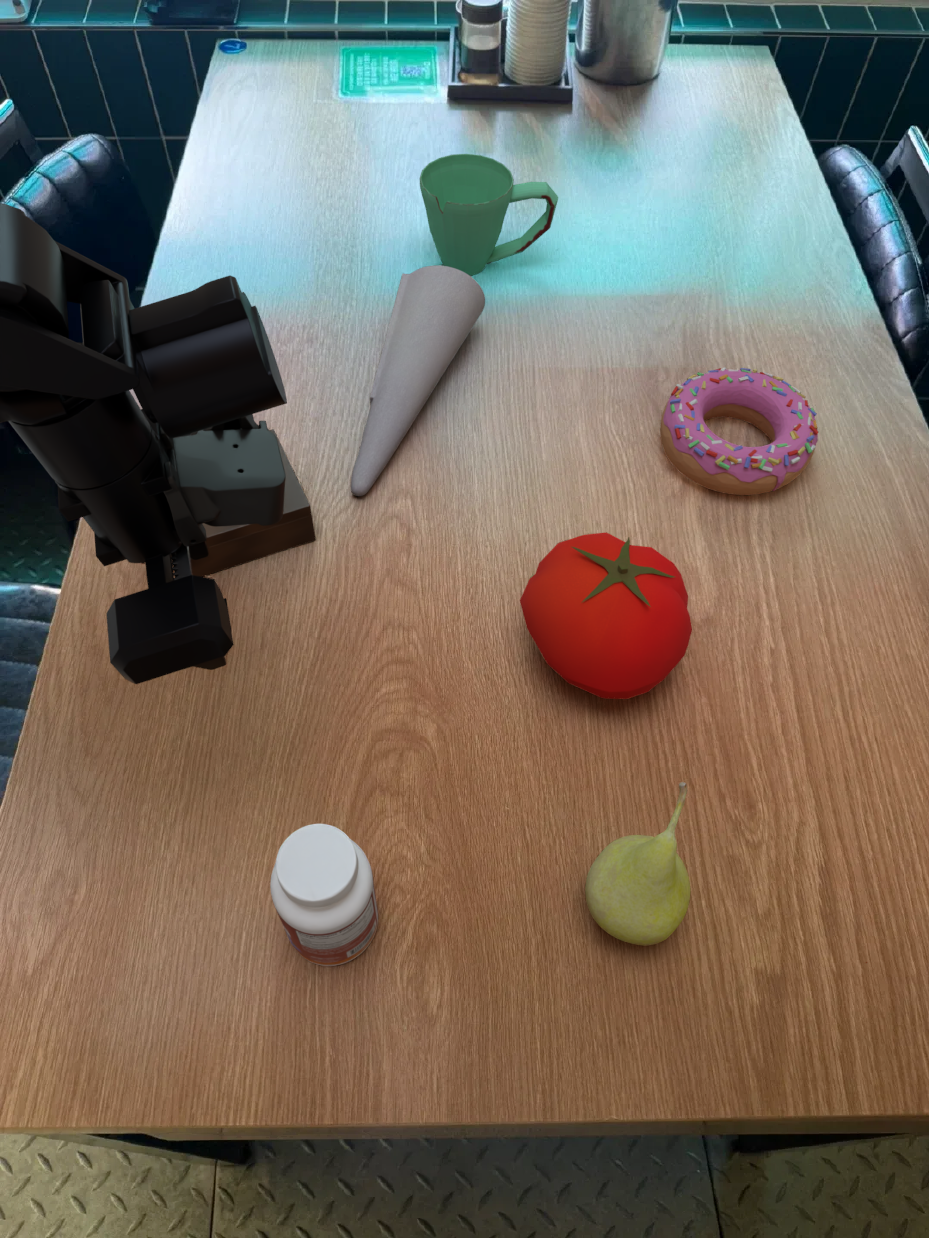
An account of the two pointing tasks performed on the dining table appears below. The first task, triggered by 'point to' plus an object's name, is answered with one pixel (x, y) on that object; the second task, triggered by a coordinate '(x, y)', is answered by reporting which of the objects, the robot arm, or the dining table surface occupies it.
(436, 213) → the mug
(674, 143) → the dining table surface
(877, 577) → the dining table surface
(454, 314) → the grey tapered cone
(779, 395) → the donut
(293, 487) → the dark wooden box
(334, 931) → the pill bottle
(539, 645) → the tomato
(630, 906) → the fruit
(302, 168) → the dining table surface
